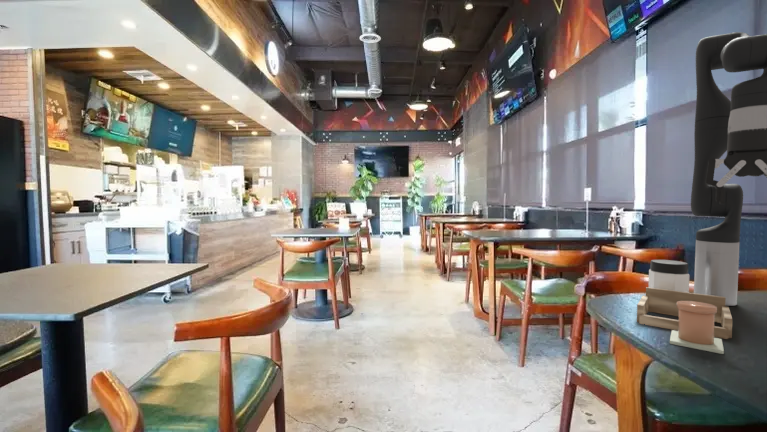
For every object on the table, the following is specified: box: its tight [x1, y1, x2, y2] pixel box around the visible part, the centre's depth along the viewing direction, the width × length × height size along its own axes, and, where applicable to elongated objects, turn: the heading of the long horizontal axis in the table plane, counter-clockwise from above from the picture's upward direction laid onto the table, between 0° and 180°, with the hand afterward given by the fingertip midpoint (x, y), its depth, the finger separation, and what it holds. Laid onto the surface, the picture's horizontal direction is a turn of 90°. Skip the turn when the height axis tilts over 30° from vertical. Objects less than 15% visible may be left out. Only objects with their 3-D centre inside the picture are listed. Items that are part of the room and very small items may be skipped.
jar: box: [648, 259, 691, 293], centre depth 102 cm, size 9×8×12 cm
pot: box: [677, 301, 717, 344], centre depth 75 cm, size 6×6×7 cm
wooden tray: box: [636, 286, 733, 340], centre depth 88 cm, size 14×16×6 cm
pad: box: [669, 329, 725, 355], centre depth 75 cm, size 8×8×1 cm
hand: (747, 204), depth 83 cm, fingers open, 8 cm apart
